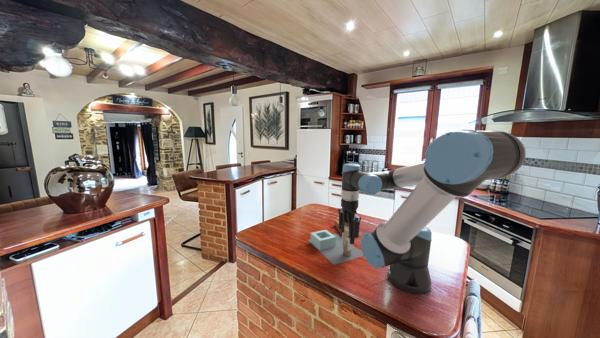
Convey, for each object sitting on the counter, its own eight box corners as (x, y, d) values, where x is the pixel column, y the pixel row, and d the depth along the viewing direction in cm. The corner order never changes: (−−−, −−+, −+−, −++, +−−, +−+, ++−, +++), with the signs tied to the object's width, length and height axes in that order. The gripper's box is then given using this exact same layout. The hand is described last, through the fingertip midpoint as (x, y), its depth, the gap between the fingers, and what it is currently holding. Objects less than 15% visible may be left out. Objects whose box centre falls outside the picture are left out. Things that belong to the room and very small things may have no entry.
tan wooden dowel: (352, 255, 101) (354, 222, 99) (346, 257, 100) (347, 224, 97) (347, 251, 105) (349, 219, 102) (341, 253, 103) (342, 221, 100)
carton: (347, 226, 135) (347, 219, 134) (358, 238, 120) (359, 231, 119) (334, 226, 134) (334, 220, 133) (344, 239, 118) (344, 232, 117)
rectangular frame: (335, 246, 109) (335, 236, 109) (319, 250, 105) (320, 240, 105) (325, 238, 117) (325, 229, 117) (310, 241, 113) (310, 232, 113)
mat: (366, 256, 102) (366, 254, 102) (334, 266, 94) (334, 265, 94) (335, 234, 123) (335, 233, 123) (307, 241, 116) (307, 240, 115)
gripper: (369, 203, 92) (366, 254, 96) (344, 192, 106) (342, 237, 111) (355, 205, 88) (352, 258, 93) (332, 194, 103) (330, 241, 107)
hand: (347, 247), depth 102 cm, fingers closed on tan wooden dowel, 3 cm apart
